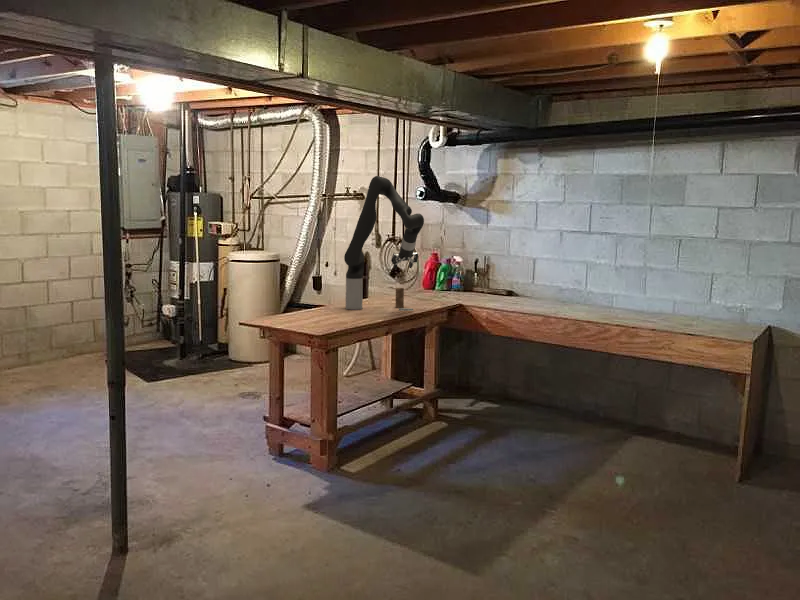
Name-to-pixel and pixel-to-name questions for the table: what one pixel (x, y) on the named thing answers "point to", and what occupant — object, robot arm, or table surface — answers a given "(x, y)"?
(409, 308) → the mat
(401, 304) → the block
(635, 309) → the table surface
